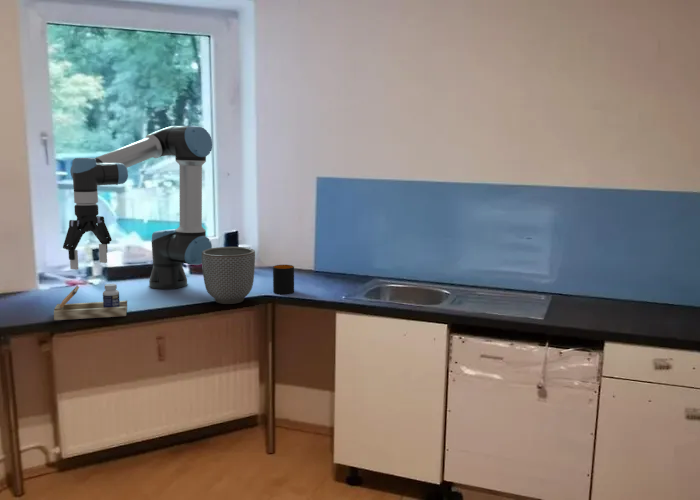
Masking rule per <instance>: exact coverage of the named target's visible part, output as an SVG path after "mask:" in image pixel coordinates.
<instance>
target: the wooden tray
mask: <svg viewBox="0 0 700 500" xmlns="http://www.w3.org/2000/svg"><path fill="white" fill-rule="evenodd" d="M119 301H120V307H107V308H103V301H97V302H96V301H94V302H93V301H92V302H76V303H73V302H72V303H66V304H65V305H64V306H63V307H62V308H61V307H60V304H61V303H57V304H56V306H55V307H54V309H53V321H62V320H79V319H81V320H83V319H95V318H96V319H97V318H99V319H101V318H111V317H112V318H114V317H115V318H116V317H126V316H127V313H128V300H119Z"/></svg>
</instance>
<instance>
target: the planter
mask: <svg viewBox="0 0 700 500" xmlns="http://www.w3.org/2000/svg"><path fill="white" fill-rule="evenodd" d="M201 257H202V264H201V266H202V275H203V281H204V282H203V283H204V286H205V290H206V292H207V293H208V295H209V296H210V297H212V298H213V299H214V301H215V302H216V303H217V304H221V305H232V304H233V305H234V304H240V303H242V302H244V301H245V298H246V297H247V296H248V295H249V294H250V292H252V289H253V286H254V281H255V269H256V268H255V267H256V251H255V249H253V248H250V247H244V246H243V247H242V246H219V247H212V248H210V249H206V250H203V251H202V254H201Z"/></svg>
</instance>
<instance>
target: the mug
mask: <svg viewBox="0 0 700 500" xmlns="http://www.w3.org/2000/svg"><path fill="white" fill-rule="evenodd" d="M272 283H273V284H272V292H273V294H275V295H279V294H280V295H281V296H282V295H292V294H294V293H295V266H294V265H291V264H277V265H276V264H275V265H274V266H272Z"/></svg>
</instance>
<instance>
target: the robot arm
mask: <svg viewBox="0 0 700 500" xmlns="http://www.w3.org/2000/svg"><path fill="white" fill-rule="evenodd" d="M212 150H213V140H212V136H211V134H210V133H209V132H208V130H206V129H205V128H204V127H203V126H196V125H171V126H168V127H165V128H162V129H159V130H156V131H154V132H151V133H149V134H147V135H146V136H144V138H143V139H140V140H138V141H135V142H132V143H131V144H128V145H125V146H122V147H121V148H116V149H115V150H112V151H110V152H107V153H104V154H102V155H99V156H96V157H75V158H73V159H72V162H71V163H72V164H71V167H70V172H69V173H70V176H71V178H72V184H73V187H72V188H73V202H74V204H75V205H74V216H76V219H69V220H68V230H67V233H66V236H65V239H64V242H63V245H62V249H63V250H66V251H67V252H68V260H69V264H70V269H71V270H76V271H77V270H79V254H78V252H79V251H78V249H76V248H77V247H78V245H79V243H80V242H81V239H82V237H83V236H84V235H85V234H86V233H88V232H92V233H93V235H94V236H95V237H96V238H97V240H98V242H99V243H98V254H99V255H98V257H99V263H103V264H107V263H108V254H107V253H108V251H109V250H108V245H110V243H111V242H112V241H113V240H112V237H111V234H110V231H109V229H108V227H107V224H106V223H105V217H104V216H102V215H101V216H100V215H99V205H98V203H99V196H98V195H99V194H98V193H99V192H98V187H99V186H108V185H111V186H113V185H114V186H118V185H122V184H125V183H126V182H127V181H128V177H129V171H128V168H130V167H132V166H134V165H137V164H139V163H142V162H145V161H147V160H149V159H152V158H154V159H159V158H161V157H165V156H167V157H168V156H174V157H175V162H176V163H177V164H178V165H179V225H178V227H177V228H171V229H162V230H157V231H156V230H155V231H154V232H152V233H151V234H152V235H151V256H152V270H151V273H150V277H149V280H148V282H149V283H148V285H149V287H150V288H152V289H155V290H156V289H157V290H170V289H171V290H172V289H180V288H183V287H186V286H188V278H187V275H186V273H185V270H184V266H183V264H187V265H190V266H193V265H194V266H199V265H202V257H201V254H202V251H203V250H206V249H210V248H213V247H212V245H213V244H212V241H211V240H210V238H208V237H207V236H206V235H207V233H206V229H205V228H204V227H203V218H202V217H203V213H202V212H203V165H204V164H205V163H206V162H207V156H209V155H210V154H211V151H212Z"/></svg>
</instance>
